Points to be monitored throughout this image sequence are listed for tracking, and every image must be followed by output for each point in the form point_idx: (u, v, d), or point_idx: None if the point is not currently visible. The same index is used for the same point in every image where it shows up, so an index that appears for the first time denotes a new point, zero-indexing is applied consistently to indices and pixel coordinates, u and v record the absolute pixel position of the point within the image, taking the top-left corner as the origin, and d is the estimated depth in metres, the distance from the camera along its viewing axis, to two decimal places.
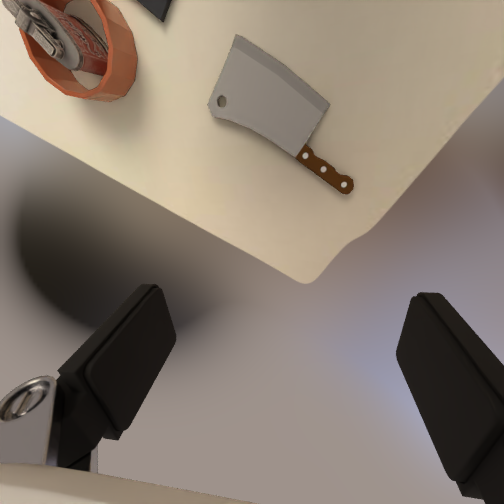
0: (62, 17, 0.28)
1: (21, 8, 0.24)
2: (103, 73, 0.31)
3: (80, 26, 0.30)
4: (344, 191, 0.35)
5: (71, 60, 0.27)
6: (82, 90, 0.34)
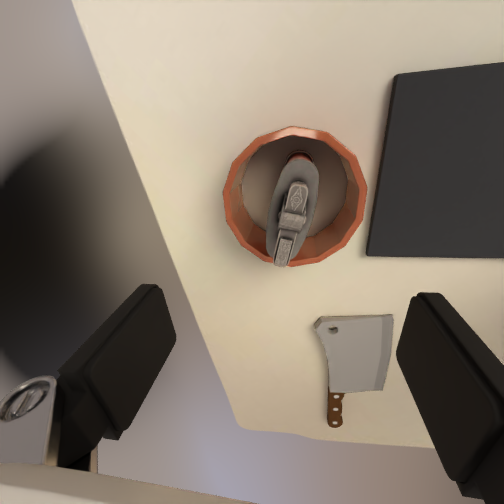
0: None
1: (304, 219, 0.16)
2: None
3: None
4: (330, 425, 0.40)
5: None
6: (239, 204, 0.25)
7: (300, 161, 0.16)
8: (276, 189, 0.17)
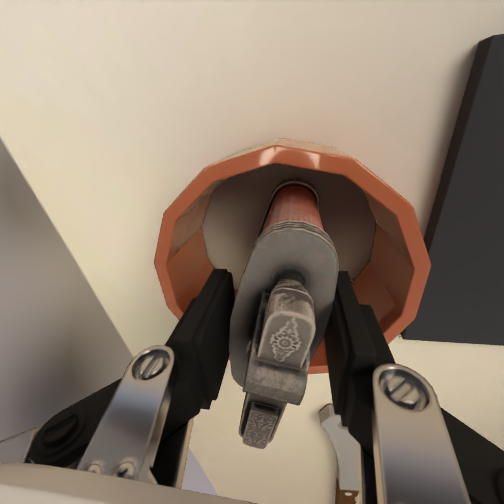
0: None
1: (305, 383, 0.06)
2: None
3: None
4: None
5: None
6: (198, 264, 0.15)
7: (295, 232, 0.07)
8: (243, 283, 0.08)
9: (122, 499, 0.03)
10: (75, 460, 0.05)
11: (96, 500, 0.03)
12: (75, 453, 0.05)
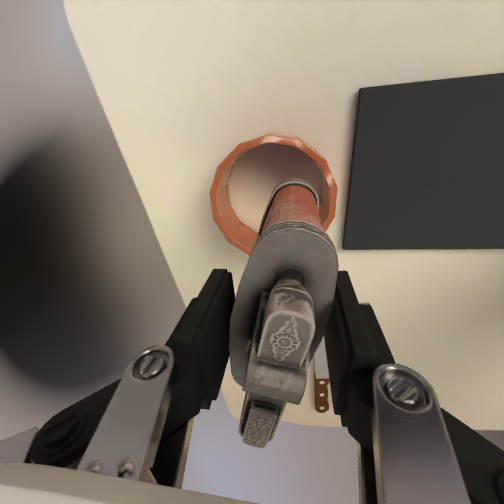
0: None
1: (305, 383, 0.06)
2: None
3: None
4: (318, 410, 0.43)
5: None
6: (226, 204, 0.27)
7: (294, 232, 0.07)
8: (243, 283, 0.08)
9: (122, 499, 0.03)
10: (75, 460, 0.05)
11: (96, 500, 0.03)
12: (75, 453, 0.05)
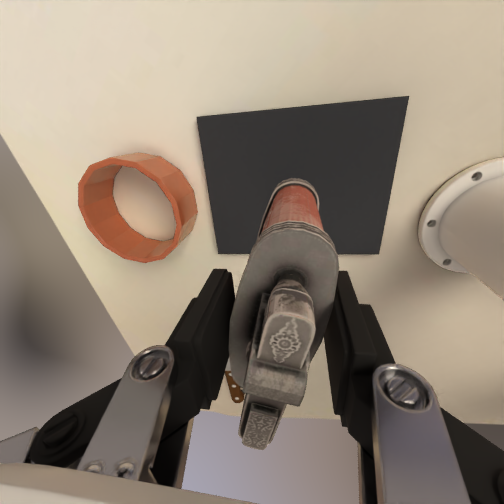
0: None
1: (305, 385, 0.06)
2: None
3: None
4: (234, 400, 0.46)
5: None
6: (109, 213, 0.30)
7: (294, 232, 0.07)
8: (243, 284, 0.08)
9: (122, 499, 0.03)
10: (75, 460, 0.05)
11: (96, 500, 0.03)
12: (75, 453, 0.05)
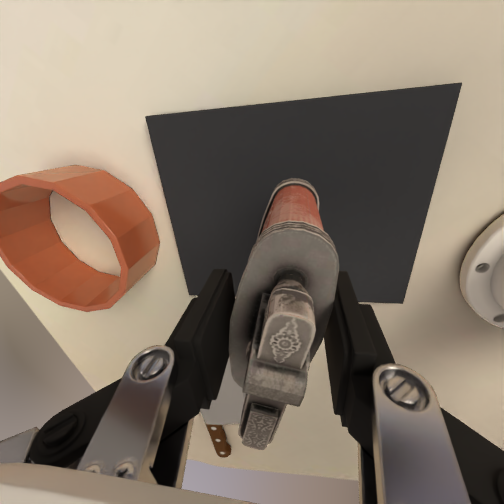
0: None
1: (305, 385, 0.06)
2: None
3: None
4: (219, 455, 0.39)
5: None
6: (45, 243, 0.23)
7: (295, 232, 0.07)
8: (243, 284, 0.08)
9: (122, 499, 0.03)
10: (75, 460, 0.05)
11: (96, 500, 0.03)
12: (75, 453, 0.05)
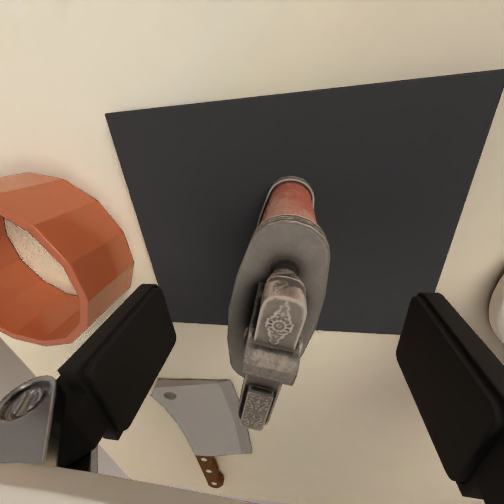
0: None
1: (298, 364, 0.07)
2: None
3: None
4: (210, 485, 0.36)
5: None
6: None
7: (288, 224, 0.07)
8: (240, 274, 0.08)
9: (122, 499, 0.03)
10: None
11: (96, 500, 0.03)
12: None
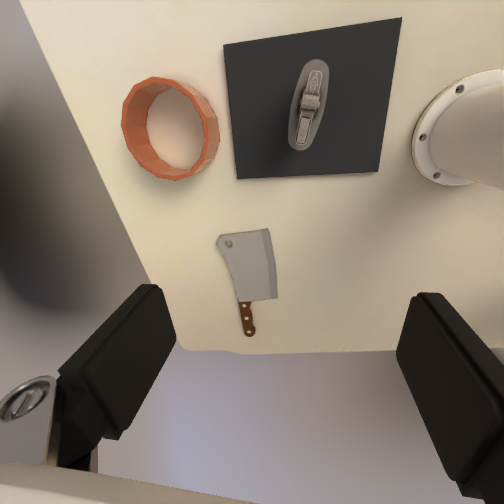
0: None
1: (319, 98, 0.22)
2: None
3: None
4: (246, 334, 0.51)
5: None
6: (143, 141, 0.35)
7: (315, 60, 0.23)
8: (297, 85, 0.24)
9: (122, 499, 0.03)
10: None
11: (96, 500, 0.03)
12: None
